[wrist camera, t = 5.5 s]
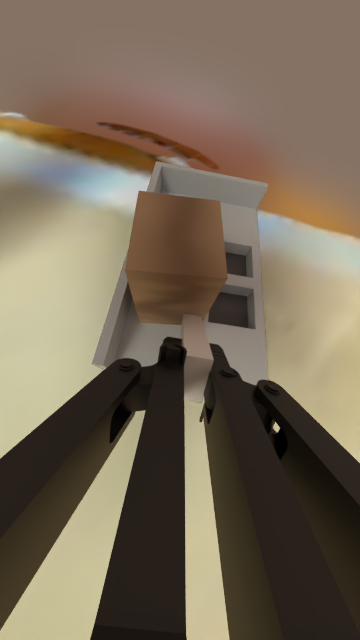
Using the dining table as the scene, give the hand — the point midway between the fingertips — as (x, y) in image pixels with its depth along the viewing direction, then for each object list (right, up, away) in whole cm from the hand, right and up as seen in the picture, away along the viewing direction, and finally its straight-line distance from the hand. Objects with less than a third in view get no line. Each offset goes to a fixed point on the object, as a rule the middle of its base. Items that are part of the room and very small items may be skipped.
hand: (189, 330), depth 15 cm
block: (-2, +4, +4) cm, 6 cm away
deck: (+1, +6, +8) cm, 10 cm away
